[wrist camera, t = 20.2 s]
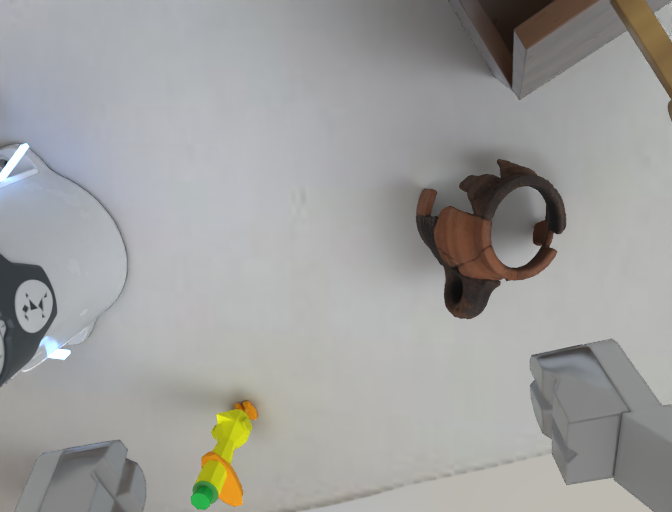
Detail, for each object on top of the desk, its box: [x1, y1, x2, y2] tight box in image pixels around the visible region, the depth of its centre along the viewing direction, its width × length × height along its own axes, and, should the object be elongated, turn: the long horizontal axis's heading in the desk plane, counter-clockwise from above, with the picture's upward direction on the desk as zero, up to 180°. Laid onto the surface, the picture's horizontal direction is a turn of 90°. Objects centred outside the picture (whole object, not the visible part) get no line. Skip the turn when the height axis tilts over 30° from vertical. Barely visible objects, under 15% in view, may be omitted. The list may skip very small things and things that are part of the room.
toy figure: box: [191, 401, 258, 510], centre depth 49 cm, size 7×4×12 cm, turn 25°
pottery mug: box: [416, 159, 566, 319], centre depth 42 cm, size 12×10×8 cm
